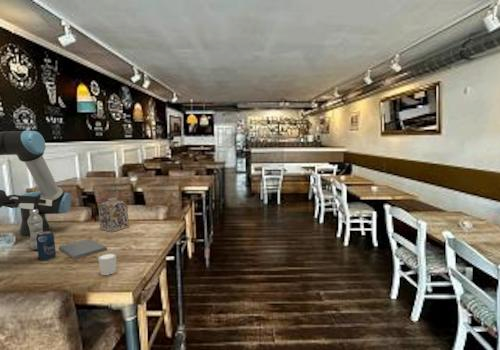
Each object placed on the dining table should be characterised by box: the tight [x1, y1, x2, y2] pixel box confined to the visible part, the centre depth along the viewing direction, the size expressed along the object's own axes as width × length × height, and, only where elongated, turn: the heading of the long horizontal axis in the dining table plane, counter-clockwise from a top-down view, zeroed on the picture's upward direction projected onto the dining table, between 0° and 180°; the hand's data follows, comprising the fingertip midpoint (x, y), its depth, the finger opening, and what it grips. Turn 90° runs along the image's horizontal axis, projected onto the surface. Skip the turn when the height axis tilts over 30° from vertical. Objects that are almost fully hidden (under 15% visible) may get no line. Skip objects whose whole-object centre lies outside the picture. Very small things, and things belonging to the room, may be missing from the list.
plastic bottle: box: [27, 209, 43, 251], centre depth 172 cm, size 6×7×20 cm
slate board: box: [58, 238, 108, 260], centre depth 170 cm, size 20×15×2 cm
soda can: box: [36, 230, 57, 261], centre depth 160 cm, size 7×7×12 cm
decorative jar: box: [98, 197, 130, 233], centre depth 204 cm, size 12×12×18 cm
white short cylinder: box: [97, 253, 117, 276], centre depth 142 cm, size 7×7×7 cm
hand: (42, 204), depth 161 cm, fingers open, 13 cm apart
